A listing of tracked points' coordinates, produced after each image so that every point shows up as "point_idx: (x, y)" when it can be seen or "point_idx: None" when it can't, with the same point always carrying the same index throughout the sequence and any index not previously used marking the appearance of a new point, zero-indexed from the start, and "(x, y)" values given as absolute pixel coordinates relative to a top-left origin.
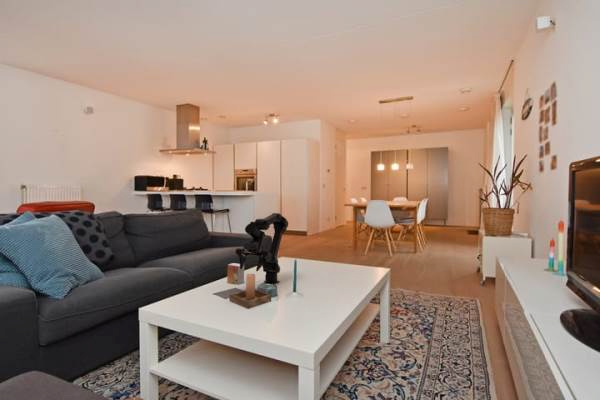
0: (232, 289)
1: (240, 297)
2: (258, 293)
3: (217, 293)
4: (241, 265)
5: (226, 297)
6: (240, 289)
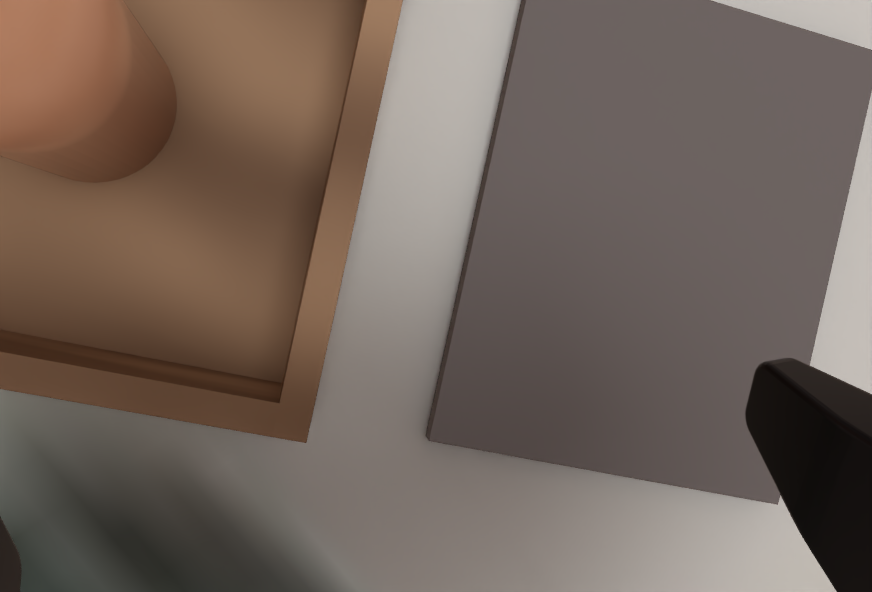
0: None
1: (340, 111)
2: (81, 356)
3: (821, 95)
4: (854, 445)
5: (566, 13)
6: (645, 479)
